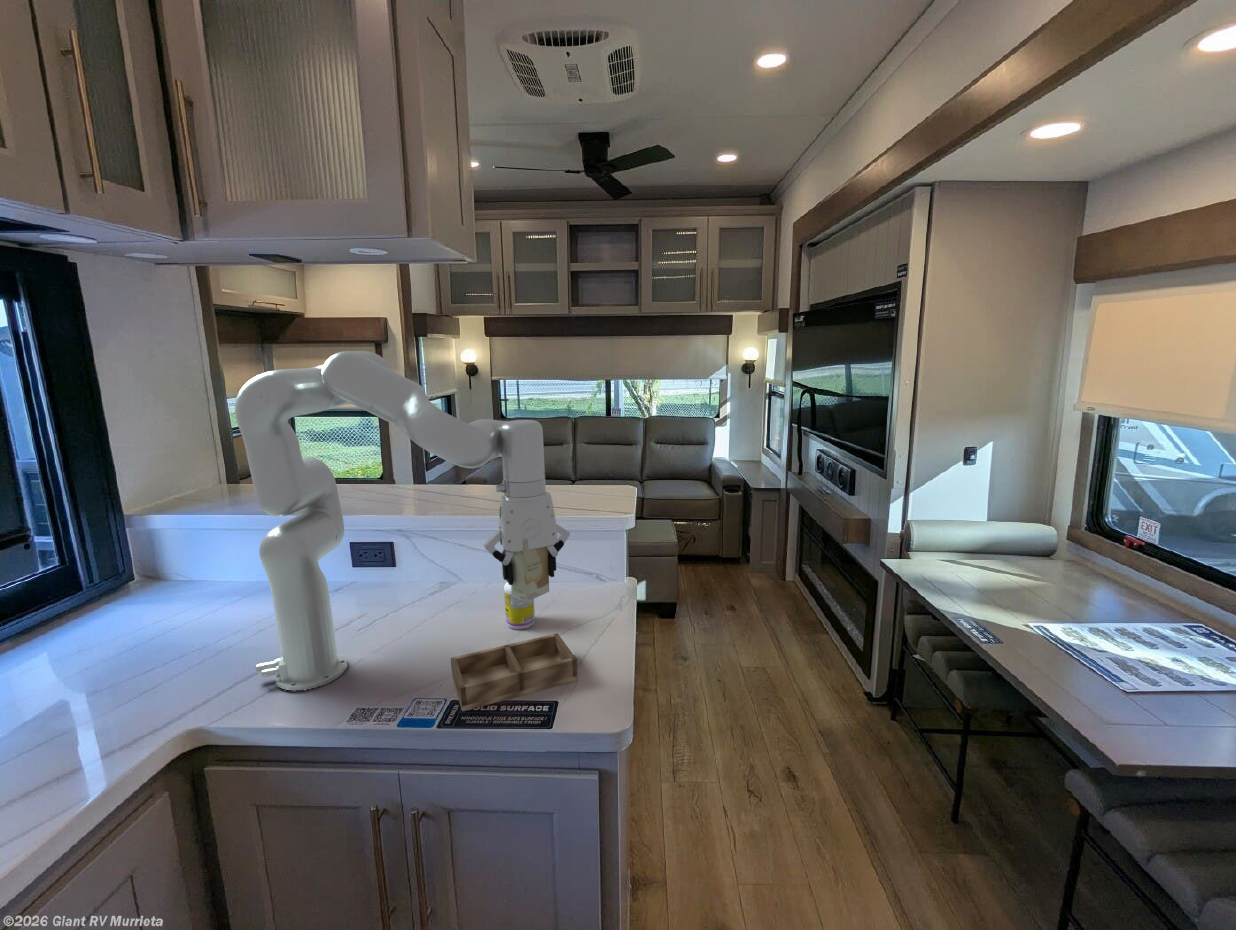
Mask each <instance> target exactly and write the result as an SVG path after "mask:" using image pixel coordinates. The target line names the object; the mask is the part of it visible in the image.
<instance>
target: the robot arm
mask: <svg viewBox="0 0 1236 930" xmlns="http://www.w3.org/2000/svg"><path fill="white" fill-rule="evenodd" d="M234 403H235V404H234V413H235V418H236V423H237V425H238V428H239V432H240V434H241V437H242V440H243V443H244V447H245V453H246V458H247V459H246V460H247V462H248V466H249V467H248V468H249V472H250V475H251V476H250V477H251V481H252V485H253V489H254V493H255V497H256V501H257V504H258V506H259V508H260V509H261V510H262V511H263V512H264V513H266V514H267V515H269V516H271V517H286V516H290V515H292V514H294V516H295V517H292V518H290V519H288V520H286V521H284V522H281V523H280V524H278V525H276V526H274V527H273V528H272V529H271V530H269V531H268V532H267V533H266V534H265V535H264V537H262V540H261V542H260V545H259V550H258V551H259V553H258V555H259V559H260V562H261V565H262V568H263V570H264V572H265V575H266V577H267V580H268V584H269V589H270V592H271V600H272V605H273V609H274V617H275V622H276V629H277V635H278V643H279V649H280V657H277V658H275V659H274V660H272V661H264V662H258V663H257V664H256V674H258V675H259V674H261V675H262V676H261V677H262V678H267V677H271V676H274V675H275V677H274V679H275V684H276V686H277V685H278V686H277V688H279V687H280V688H283V689H286V690H304V689H306V690H304V691H308V690H307V689H309V690H312V689H311V688H314V689H317V688H319V687H318V686H320V687H322V685H323V686H324V685H327V684H329V683H331V682H333V681H335V680H336V679H338V678H340V676H342V675H343V673H345V671H346V670H347V668H348V660H347V657H346V656H345V655H343V654H342V653H340V652H339V653H338V651H337V650H338V649H337V644H336V643H337V642H336V636H335V627H334V620H333V612H332V605H331V597H330V590H329V585H328V584H329V583H328V581H327V578H326V576H325V574H324V573H323V571H322V569H321V567H320V564H319V561H320V560H322V558H324V557H325V556H326V555H328V554H330V553H331V552H333V551H334V550H335V549H337V548H338V547H339V546H340V544H341V543H342V541H343V539H344V535H345V524H344V517H343V511H342V507H341V500H340V497H339V491H338V486H337V482H336V479H335V476H334V473H333V472H332V470H331V469H330V467H329V466H328V465H326V463H325V462H324V461H323V460H320V459H319V458H317V457H311V456H302V452H301V445H300V442H299V439H298V436H297V433H296V432H295V431H294V428H292V426H291V424H290V423H289V420H290V419H292V418H295V417H299V416H305V415H309V414H315V413H321V412H325V411H329V410H332V409H335V408H339V407H341V406H346V405H350V404H351V405H354V406H356V407H357V408H359V409H362V410H364V411H366V412H367V413H369V414H371V415H374V416H376V417H378V418H380V419H382V420H384V421H385V422H388V423H390V424H392V425H394V426H395V427H397V428H398V429H400V431H401V432H402V433H403V434H404V435H405V436H406V437H407V438H409V439H410V440H411V441H413V443H415V444H416V445H417V446H419V447H420V448H421V449H423V450H424V451H427V452H428V453H430V454H433V455H434V456H437V457H438V458H440V459H443V460H444V461H447V462H449V463H451V464H453V465H454V466H455V465H456V466H457V467H458V466H459V467H461V468H465V469H475V468H476V469H477V468H480V467H482V466H484V465H486V464H487V463H489V461H492V460H494V459H496V458H499V457H501V460H502V461H501V462H502V474H503V475H502V476H503V479H502V482H501V483H500V484H496V485H495V490H496V493H503V494H504V495H501V497H500V506H499V514H498V515H499V519H498V530H497V531H496V532H495V533H494V534H493V535H492V536H491V537H489V539H488V540H486V541H485V543H483V548H485V550H486V551H487V552H488V553H489V554H491V556H493V558H494V559H496V560H497V561H499V562H500V563H501V565H502V566H501V567H502V578H503V580H504V581H505V580H506V583H507V582H508V584H509V585H513V567H512V564H511V563H510V560H511V558H512V556H513V554H514V553H516V552H521V551H523V539H528V538H529V539H528V548H529V550H535V549H541V548H546V547H547V549H548V569H549V578H554V577H555V572H556V571H557V558H556V557H558V555H559V552H560V551H561V550H562V548H563V547H564V545H565V543H566V542H567V541H568V539H569V537H570V535H571V532H570V531H568V530H567V529H566V528H564V527H562V526H561V525H560V524H557V522H556V514H555V509H554V508H555V507H554V502H553V499H552V495H551V493H550V492H549V491H547V490H546V486H547V485H546V469H545V453H544V451H545V449H544V448H545V447H544V433H543V431H544V429H543V426H542V424H541V422H539V421H538V420H533V419H517V420H510V421H509V420H497V419H490V418H481V419H476V420H474V421H471V422H469V423H468V422H466V421H464V420H461V419H459V418H457V417H455V416H453V415H451V414H449V413H447V412H446V411H444V410H442V409H440V408H439V407H438V406H436V405H435V404H434V403H432V402H431V401H430V400H429V398H428V396H427V395H426V392H425V388H424V387H422V385H420V384H419V383H418V382H416V381H414V380H411V379H409V378H407V377H406V376H404V375H401V374H400V373H397V372H395V371H393V370H392V369H391V366H390V365H389V363H388V362H387V361H386V359H385V358H383V357H382V355H379V354H377V353H375V352H372V351H368V350H354V351H353V350H350V351H349V350H347V351H346V350H345V351H340V352H336V353H335V354H332V355H330V356H329V357H328V358H327V359H326V360H325V362H324V364H322V365H318V366H313V367H308V368H307V367H306V368H284V369H283V368H282V369H276V370H269V371H266V372H265V371H264V372H263V373H261V374H257V375H256V376H253V377H252V378H250V379H249V380H248V381H246V382H245V384H243V386H242V387H241V388H240V389H239V391H238V394H237V396H236V399H235V402H234ZM558 534H559V536H558ZM498 543H500V545H501V546H502V547H503V549H502V551H500V550H498V549H497V548H496V547H495V546H496V545H497V544H498ZM316 687H317V688H316ZM280 688H279V689H280ZM286 690H285V691H286Z"/></svg>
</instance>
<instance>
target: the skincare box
mask: <svg viewBox="0 0 1236 930" xmlns="http://www.w3.org/2000/svg"><path fill="white" fill-rule="evenodd" d="M528 539H529V538H528ZM528 539H523V551H521V552H516V553H514V554H513V556H512V558H511V560H510V563H511V564H512V567H513V585H511V592H512V597H514V598H517V599H520V600H523V601H526V602H528V601H530V600H532V599H534V600H535V599H537V598H539V597H540V596H541V597H542V596H543V595H545V594H547V593H549V592H550V576H549V569H548V549H547V547H546V548H541V549H535V550H529V548H528Z"/></svg>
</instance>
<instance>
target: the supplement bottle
mask: <svg viewBox="0 0 1236 930" xmlns="http://www.w3.org/2000/svg"><path fill="white" fill-rule="evenodd" d="M503 591H504V592H503V593H504V595H503V596H504V610H505V622H506V625H507V627H508V628H510V629H512V630H524V629H527V628H531V627H532V626H533V625H534V624H535V622H536V614H535V613H536V612H535V610H536V609H535V598H534V599H532V600H530V601H528V602H526V601H523V600H520V599H517V598H514V597H512V592H511V585H509V584H508V582H507V581H506V583H505V584H504V586H503Z"/></svg>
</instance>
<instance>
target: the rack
mask: <svg viewBox="0 0 1236 930" xmlns="http://www.w3.org/2000/svg"><path fill="white" fill-rule="evenodd" d="M577 661H578V659H577V658H576V656H575V654H573V652H572V651H571V649H570V648H569V646H568V645H567V644H566V642H565V641H564V640H563V639H562V637H561V635H560V634H559V633H552V634H548V635H545V636H540V637H535V638H531V639H527V640H522V641H518V642H513V643H509V644H504V645H501V646H496V647H492V648H488V649H484V650H479V651H475V652H470V653H466V654H461V655H457V656H453V657H450V664H451V665H450V667H451V677H452V678H451V679H452V681H453V685H454V688H455V691H456V696H457V699H458V702H459V705H460V708H461V711H462V712H466V711H470V710H473V708H474V709H478V708H480V707H485V706H488V705H491V704H495V703H500V702H503V701H506V700H510V699H513V698H517V697H518V698H519V697H520V696H522V697H523V696H526V695H529V694H532V693H536V692H540V691H543V690H547V689H551V688H555V687H559V686H561V685H565V684H569V683H572V682H577V681H578V664H577V663H578V662H577Z"/></svg>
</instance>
